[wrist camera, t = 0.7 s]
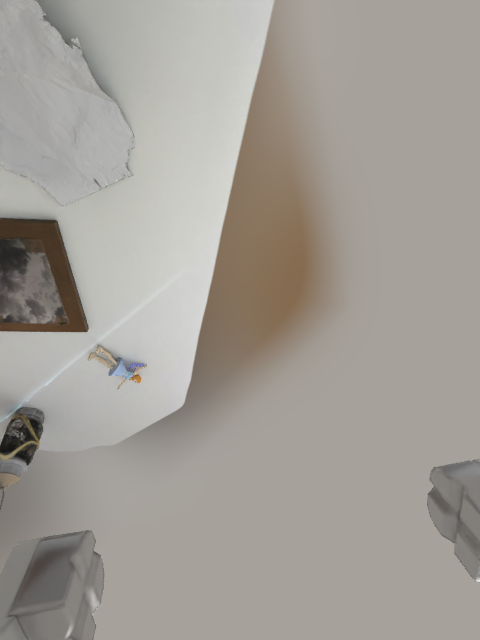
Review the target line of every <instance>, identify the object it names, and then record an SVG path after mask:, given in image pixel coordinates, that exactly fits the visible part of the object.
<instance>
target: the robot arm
mask: <svg viewBox="0 0 480 640" xmlns="http://www.w3.org/2000/svg"><path fill="white" fill-rule="evenodd" d="M430 481H431V482H432V484H433V485H434V487H433V488H432V490H431V491H430V492H429V493H428V502H427V505H428V510H429V513H430V517H431V519H432V521H433V523H434V525H435V527H436V528H437V530H438V531H439V532H440V534H441V535H442V536H443V537H445V538H447V539H448V540H450V541H451V542H453V543H454V552H455V555H456V556H457V558H458V559H459V560H460V562H461V563H462V565H463V566H464V567H465V569H466V570H467V571H468V573H469V574H470V576H471V577H472V578H473V580H474V581H475V582H477V581H480V459H476V460H472V461H464V462H460V463H455V464H449V465H444V466H439V467H434V468H433V470H432V471H431V473H430ZM95 543H96V540H95V538H94V535H93V532H92V531H89V530H87V531H81V532H74V533H67V534H61V535H54V536H48V537H43V538H37V539H32V540H24V541H20V542H19V543H18V544H17V545H16V546H15V547H14V548H13V550H12V552H11V554H10V556H9V558H8V560H7V562H6V564H5V566H4V568H3V571H2V573H1V575H0V640H93V639H94V634H95V629H96V624H95V622H94V619H93V616H92V614H93V613H94V612H95V610H96V609H97V608H98V606H99V605H100V604H101V599H102V595H103V589H104V568H103V562H102V558H101V555H99V554H98V553H96V552H94V547H95Z"/></svg>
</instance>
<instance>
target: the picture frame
mask: <svg viewBox="0 0 480 640" xmlns="http://www.w3.org/2000/svg"><path fill="white" fill-rule="evenodd" d="M88 329H89V328H88V324H87V321H86V317H85V314H84V311H83V308H82V304H81V301H80V298H79V294H78V291H77V287H76V284H75V281H74V278H73V274H72V270H71V267H70V264H69V261H68V257H67V254H66V250H65V247H64V243H63V240H62V236H61V233H60V230H59V226H58V223H57V221H52V220H51V221H50V220H49V221H48V220H24V219H0V331H23V332H88Z"/></svg>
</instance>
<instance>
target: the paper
mask: <svg viewBox="0 0 480 640" xmlns="http://www.w3.org/2000/svg"><path fill="white" fill-rule="evenodd" d="M44 15H46V14H45V13H44V12H43V11H42V8H41V6H40V5H39V3H38V2H36V1H35V0H29V1H28V0H0V166H3V167H5V168H7V169H8V170H10V171H12V172H15V173H17V174H20V175H23V176H25V177H28V178H29V179H30V180H32V181H33V182H36V183H37V184H39V185H40V186H41V187H43V188H44V189H45V190H46V191H47V192H48V193H49V195H51V196H52V197H53V198H54V199H55V200H56V201H57V202H58V203H59V204H60V205H61V206H64V205H66V204H68V203H71V202H73V201H76V200H78V199H81V198H83V197H85V196H88V195H90V194H92V193H94V192H97V191H99V190H101V189H100V188H99V185H97V184H96V182H95V181H94V179H96V180H97V182H98V183H99V184H100V185H101V186H102V187H104V188H105V187H107V186H106V184H108V185H111V184H113V183H115V182H117V181H116V180H118V181H120V180H123V179H124V177H123V176H124V175H127V176H128V177H130V176H133V174H131V173H130V172H129V170H128V169H127V168H126V164H127V162H128V156H129V153H128V151H127V150H129V149H133V148H134V145H133V140H132V139H133V137H134V134H133V133H132V131H131V129H130V127H129V125H128V123H127V122H126V120H125V118H124V117H123V115H122V113H121V111H120V109H119V106H118V104H117V102H116V101H114V100H113V99H112V98H110V97H109V96H108V95H107V94H106V93H104V92H103V91H102V90H101V89H100V88H99V86H98V84H97V83H96V81H95V80H94V78H93V76H92V74H91V72H90V70H89V68H88V66H87V64H86V62H85V60H84V58H83V57H82V56H81V55H83V54H82V49H81V50H80V49H78V48H77V47H76V46H75V45H73V49H72V48H71V47H70V46H69V45H67V44H66V43H65V42H64V40H63V38H62V37H61V35H60V33H59V32H58V31H57V30H56V29H55V28H54V27H52V26H51V24H50V23H49V22H48V21H43V20H44V17H43V16H44ZM72 41H73V42H74V43H76V44H78V46H79V47H80V48H81V46H80V43H79V40H78V38H75V39H72ZM126 149H127V150H126ZM105 183H106V184H105Z"/></svg>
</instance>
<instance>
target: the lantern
mask: <svg viewBox="0 0 480 640" xmlns="http://www.w3.org/2000/svg"><path fill="white" fill-rule="evenodd" d="M43 422H44V413H43V412H41V411H39V410H37V409H33V408H21V409H19V410H17V411H16V414H15V417H13V418H12V419H11V422H10V423H9V424H8V427H7V429H6V432H5V435H4V437H3V440H2V442H1V445H0V490H3V496H2V501H1V505H0V509H1V506H2V502H3V498H4V490H5V489H6V488H7V487H8V486H9V485H11V484H14V483H17V482H19V481H20V479H19V478H20V476H21V473H22V472H23V471H26V470H28V468H27V465H29V463H31V461H32V459H33V456H34V453H35V451H36V450H37V449H38V447H39V440H40V438H41V435H42V432H43V426H42V424H43ZM4 487H6V488H4ZM1 488H2V489H1Z"/></svg>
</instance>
